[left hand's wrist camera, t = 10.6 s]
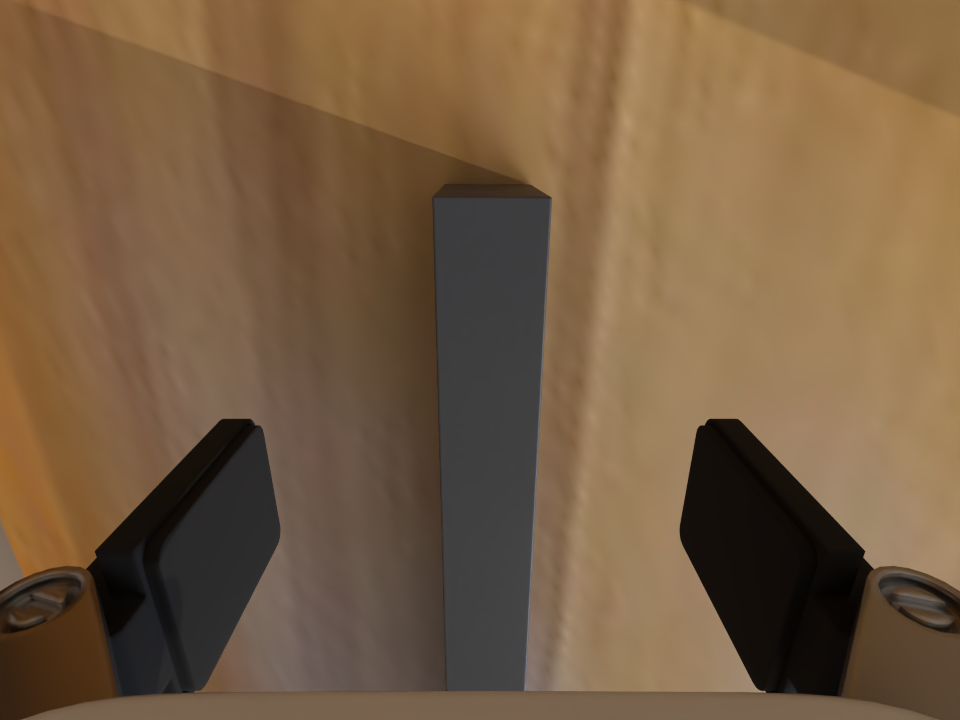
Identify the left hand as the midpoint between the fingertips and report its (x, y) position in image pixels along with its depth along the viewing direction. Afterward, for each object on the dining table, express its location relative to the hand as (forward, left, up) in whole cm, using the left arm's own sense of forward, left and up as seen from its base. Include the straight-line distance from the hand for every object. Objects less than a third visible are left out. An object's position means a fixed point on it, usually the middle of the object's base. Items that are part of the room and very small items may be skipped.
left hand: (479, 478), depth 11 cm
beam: (+25, +19, -19) cm, 37 cm away
